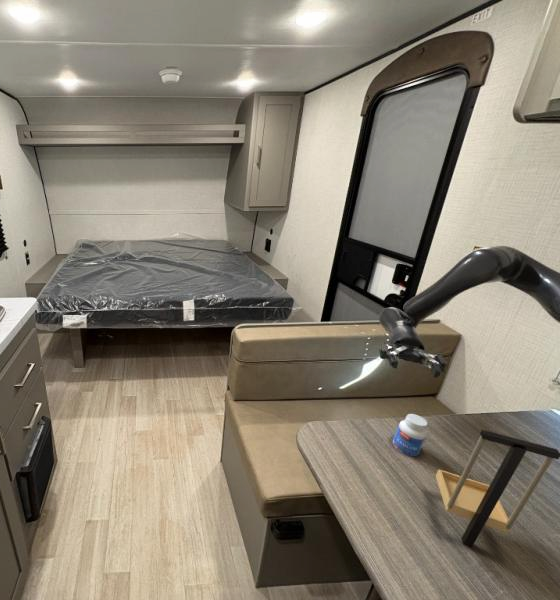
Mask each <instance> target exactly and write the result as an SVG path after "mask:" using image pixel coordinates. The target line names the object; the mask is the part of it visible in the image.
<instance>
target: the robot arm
mask: <svg viewBox="0 0 560 600" xmlns="http://www.w3.org/2000/svg"><path fill="white" fill-rule="evenodd" d="M498 282H500V283H503V284H505V285H508V286H510V287H513V288H515V289H517V290H519V291H521V292H523V293H525V294H526V295H528V296H529V297H531V298H532V299H534V300H535V301H536V303H538V304H539V306H540V307H541V308H542V309H543V310H544V311H545V313H547V314H548V316H550V318H552V319H553V320H554V321H555V322H557V323H558V324H560V272H559V271H558V270H555V269H553V268H551V267H549V266H547V265H546V264H544V263H542V262H540V261H538V260H537V259H535V258H533V257H531V256H530V255H528V254H527V253H524V252H523V251H521V250H519V249H517V248H514V247H511V246H508V245H493V246H487V247H480V248H476V249H474V250H472V251H469V252H468V253H466V255H464V256H463V257H462V258H461V259H460V260H458V262H457V263H456V264H454V266H453V267H452V268H451V269H450V270H449V271H448V272H446V273H445V274H444V275H443V276H441V277H440V278H439V279H438V280H437V281H435V282H434V283H432V284H431V285H430V286H428V287H427V288H426V289H424V290H422V291H421V292H419V293H417V294H416V295H415V296H413V297H411V298H409V300H407V301H405V303H404V304H403V307H402V309H403V311H402V310H401V309H399V308H397V307H395V306H389V307H385V308H383V310H382V311H381V312H380V313H379V315H378V322H379V324H380V326H381V327H382V328H383V330H385V331H386V332H387V334H388V342H389V344H390V345H388V344H387V342H384V341H383V342H381V343H380V347H379V358H380V359H381V360H387V361H388V363H389V366H390V367H392V369H396V370H397V368H398V365H399V362H400V361H406V362H411V363H415V364H417V365H418V366H419V367H422V368H427V369H428V370H429V371H430V374H431V376H432V378H435V379H437V378H438V377H440V376H441V374H442V373H445V371H446V368H447V366H448V362H447V361H446V359H445V358H444V357H443V355H442V353H440V352H435V354H431V353H429V352H427V351H426V348H425V345H424V343H423V341H422V339H421V337H420V335H419V333H418V332H417V330H416V328H417V327H418V326H419V325H420V324H421V323H422V322H423V321H424V320H426V319H427V318H428V317H430V316H432V315H434V314H435V313H438V312H440V311H441V310H442V309H444V308H445V307H446V306H447V305H449V304H450V302H451V301H452V300H454V298H456V297H457V296H459V295H461V294H462V293H463V292H466V291H468V290H470V289H473V288H476V287H479V286H481V285H484V284H491V283H498ZM389 351H390V352H389Z"/></svg>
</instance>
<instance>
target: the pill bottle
mask: <svg viewBox="0 0 560 600" xmlns="http://www.w3.org/2000/svg"><path fill="white" fill-rule="evenodd" d="M428 423H429V422H428V421H427V420H426V419H425V418H424V417H422V416H420V415H418V414H415V413H408V414H407V415H406V417H405V418H404V419H403V420H401V421H400V422H399V424H398V426H397V429H396V430H395V431H396V432H395V434H394V436H393V440H392V445H393V446H394V448H395V449H397V451H399V452H401V453H402V454H404V455H407V456H410V457H417V456H418V455H420V453H421V450H422V448H423V445H424V443H425V441H426V439H427V436H428V431H427V427H428Z"/></svg>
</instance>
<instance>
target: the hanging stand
mask: <svg viewBox="0 0 560 600" xmlns="http://www.w3.org/2000/svg"><path fill="white" fill-rule="evenodd" d="M479 435H480V436H479V438H478V440H477V442H476V444H475V446H474V449H473V451H472V452H471V454H470V457H469V459H468V461H467V462H466V465H465V467H464V469H463V471H462V473H461V475H458V474H456V473H452V472H449V471H445V470H443V469H439V468H438V470H437V472H436V474H435V479H436V482H437V485H438V488H439V492H440V495H441V498H442V501H443V504H444V508H445V511H446V512H448V513H451V514H453V515H456V516H460V517H462V518H465V519H467V520H470V521H469V523H468V524H467V527H466V529H465V530H464V533H463V534H462V536H461V541H462V545H464V546H467V547H469V548H473V546H474V544H475V543H476V541H477V539H478V537H479V536H480V534H481V532H482V530H483V528H484V527H485V526H487V527H488V528H489V527H490V528H491V529H496V530H498V531H501V532H502V533H506V534H507V533H509V532H508V531H510V530H511V529H512V528H513V526H514V524H515V522H516V521H517V519H518V517H519V516H520V514H521V512H522V511H523V509H524V508H525V506H526V504H527V503H528V501H529V499H530V498H531V496H532V495H533V493H534V492H535V490H536V488H537V487H538V485H539V484H540V482H541V480H542V479H543V477H544V475H545V474H546V472H547V470H549V467H550V466H551V464H552V463H553V460H554V459H555V460H559V459H560V451H559V450H558V449H557V448H554V447H551V446H546V445H543V444H539V443H535V442H531V441H527V440H524V439H519V438H516V437H513V436H508V435H505V434H501V433H497V432H493V431H489V430H485V429H481V431H480V432H479ZM486 441H488V442H493V443H497V444H500V445H503V446H507V447H509V449H508V451H507V453H506V454H505V456H504V458H503V460H502V462H501V463H500V466H499V467H498V470H497V471H496V473H495V475H494V477H493V479H492V481H491V483H490V484H486V483H483V482H481V481H477V480H474V479H471V478H468V477H469V475H470V473H471V470H472V468H473V466H474V464H475V462H476V461H477V458H478V456H479V454H480V452H481V450H482V448H483V446H484V444H485V442H486ZM527 452H529V453H532V454H536V455H541V456H544V457H545V458H544V459H543V461H542V463H541V465H540V466H539V468H538V469H537V471H536V472H535V474H534V475H533V478H532V479H531V481H530V483H529V485H528V486H527V488H526V489H525V491H524V493H523V494H522V496H521V498H519V499H520V500H519V501H518V502H517V504H516V505H515V507H514V509H513V510H512V512H511V514H510V516H509V517H508V515H507V513H506V511H505V509H504V506H503V505H502V502H501V501H500V499H501V497H502V495H503V493H504V491H505V489H506V488H507V486H508V484H509V483H510V481H511V480H512V477H513V475H514V474H515V472H516V470H517V468H518V466H519V465H520V463H521V461H522V460H523V458H524V456H525V454H526V453H527Z"/></svg>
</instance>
